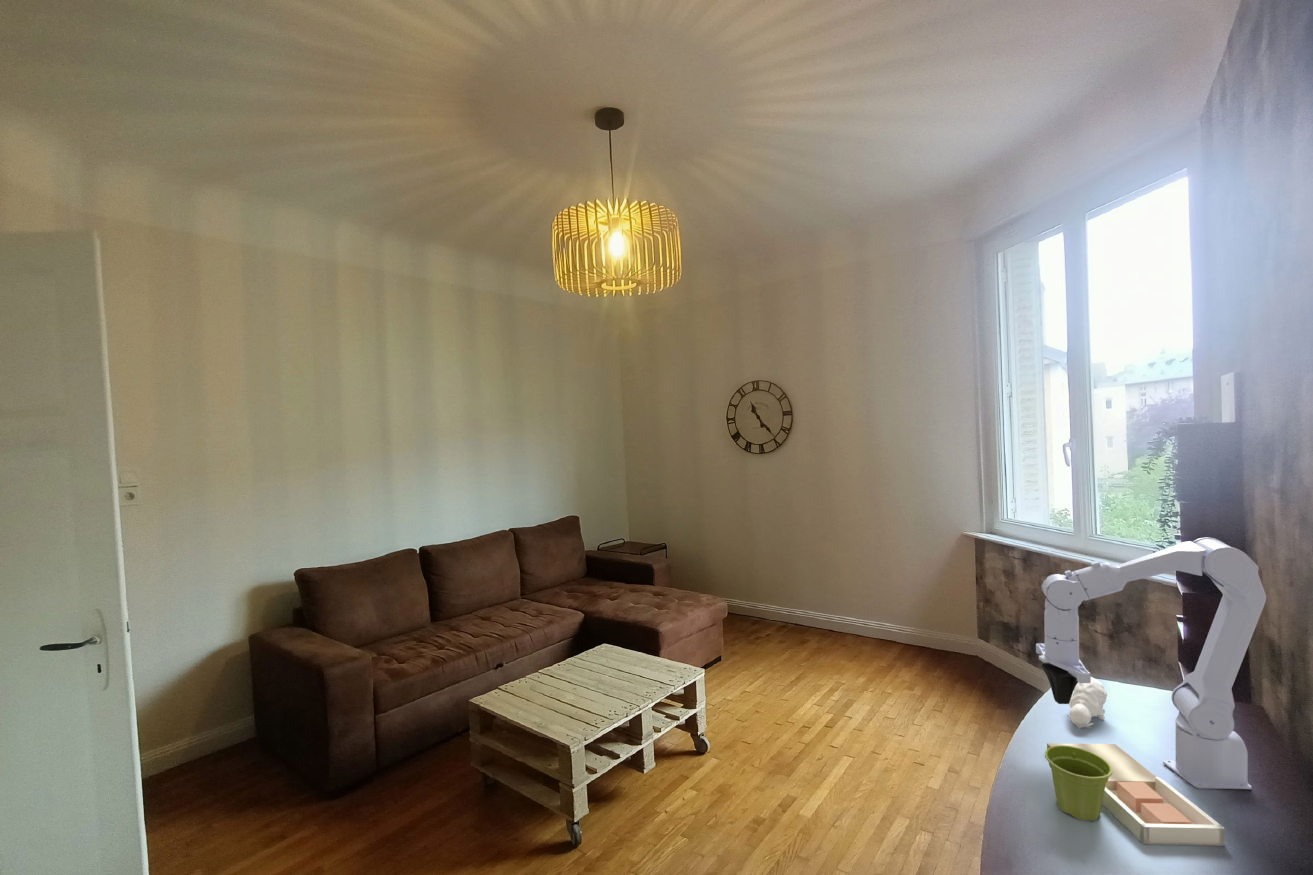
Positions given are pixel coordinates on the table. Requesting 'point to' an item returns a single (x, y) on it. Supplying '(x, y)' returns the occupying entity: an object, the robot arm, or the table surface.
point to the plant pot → (1078, 780)
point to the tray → (1168, 834)
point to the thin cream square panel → (1117, 764)
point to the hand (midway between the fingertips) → (1061, 702)
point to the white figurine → (1087, 703)
